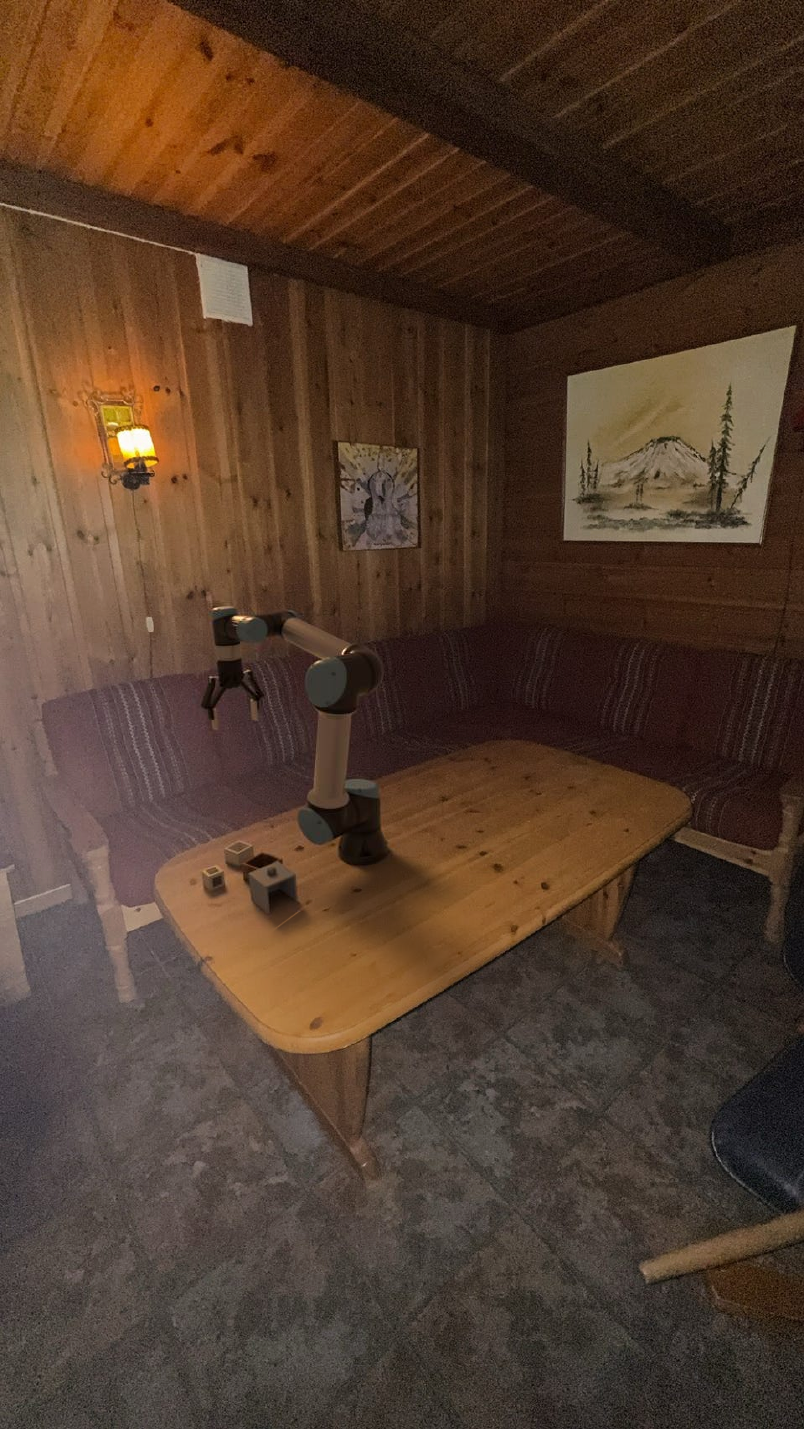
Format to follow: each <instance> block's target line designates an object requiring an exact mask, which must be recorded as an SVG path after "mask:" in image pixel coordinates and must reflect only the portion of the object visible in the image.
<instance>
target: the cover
mask: <svg viewBox="0 0 804 1429" xmlns="http://www.w3.org/2000/svg"><path fill="white" fill-rule="evenodd" d="M248 875H249V881H248V882H249V891H250V892H249V894H250V900H251V901H252V902H253V903H254V904H256V905H257V907H259V908H260V909H261V910H263V911H264V913H266V914H268V915H269V914H271V912H270V903H269V902H270V901H269V894H270V893H273V892H275V891H277V890H279V889H280V890H281V891H282V892H283V893H285V894H286V895H287V896H289V897H290V898H292V900H294V901H295V902H297V901H299V898H298V885H297V874H296V873H295V872H294V871H292V870H291V869H289V868H288V867H287V866H286V865H284V863H283V864H281V863H280V862H275V863H273V864H270V865H268V866H265V867H263V868H260V869H258V870H255V871H253V872H250V873H248Z"/></svg>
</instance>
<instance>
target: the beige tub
mask: <svg viewBox="0 0 804 1429" xmlns="http://www.w3.org/2000/svg"><path fill="white" fill-rule="evenodd" d="M254 850H255V849H254V844H252V843H248V842H245V841H243V840H237V841H235V842H233V843H231V844H230V845H228V846H226V847H224V848H223V851H224V861H225V863H227V864H230V865H232V866H234V867H237V868H242V863H244V862H245V861H247V860H249V859H251V858H252V857H254V856H255V851H254Z"/></svg>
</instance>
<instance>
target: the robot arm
mask: <svg viewBox="0 0 804 1429" xmlns="http://www.w3.org/2000/svg"><path fill="white" fill-rule="evenodd" d="M211 624H212V632H213V640H214V647H215V648H214V649H215V650H214V651H215V657H216V658H217V660H216V667H217V676H208V677H207V678H208V679H207V686H206V689H205V693H204V696H203V698H202V700H201V705H200V708H202V709H204V710H207V714H208V715H207V716H208V720H210V721H211V726H212V729H213V730H214V731H219V729H220V728H219V721H218V711H217V708H215V707H216V706H217V704H218V703H219V701H220V700H221V698H222V696H223V694H224V693H225V692H227V690H231V689H233V688H234V689H236V688H239V687H240V688H241V689H242V690H243V691H244V692H245V693H247V695H248V696H249V697H250V698H251V699H249V702H250V712H251V713H250V715H251V720H252V721H254V722H258V721H259V715H258V714H259V712H258V710H260V701H261V698H264V696H265V693H264V692H263V690H262V689H261V687H260V685H259V683H258V682H257V681H256V679H255V677H254V673H253V671H252V670H249V669H246V670H245V671H243V670H244V668H243V658H242V655H243V654H242V648H241V647H242V646H241V642H242V643H247V644H260V643H261V642H263V641H264V640H268V639H272V638H281V639H282V640H284V641H286V642H288V643H290V644H292V645H294V646H296V647H298V648H300V649H302V650H303V651H305V652H307V653H309V654H311V655H313V656H315V657H316V658H319V659H320V660H317V661H315V662H314V663H312V664H311V666H309V668H308V670H307V672H306V674H305V679H304V689H305V693H307V696H306V697H307V698H308V700H309V701H310V702H311V703H312V706H313V708H314V709H315V711H317V712H318V714H317V717H318V719H317V729H316V730H317V732H316V749H315V759H314V760H315V762H314V774H313V776H314V778H313V788H311V789H310V790H309V791H308V793H307V796H306V797H307V799H306V806H303V807H301V808H300V809H299V810H298V812H297V817H296V818H297V824H298V827H299V829H300V831H301V832H302V834H303V836H304V837H305V838H306V839H307V840H308V841H309V842H310V843H312V844H314V845H317V846H323V845H325V844H328V843H331V842H333V840H336V839H338V838H340V839H339V842H338V846H337V855H338V858H339V860H341V861H342V862H344V863H346V864H350V865H355V866H363V865H364V866H366V865H372V864H375V863H377V862H381V861H382V860H384V859H385V858H386V856H387V854H388V852H389V851H388V850H389V849H388V843H387V842H388V841H387V840H386V839H385V835H384V833H383V830H382V822H381V821H382V820H381V818H382V816H381V814H382V812H381V794H380V792H381V791H380V787H379V785H378V784H377V783H376V782H375V781H372V780H368V779H363V778H362V779H361V778H353V779H352V778H351V779H347V778H346V776H347V768H348V767H347V766H348V756H349V745H350V735H351V723H352V715H354V714H355V713H356V712H357V711H358V708H359V699H360V698H359V697H363V696H365V695H368V694H370V693H372V692H374V691H375V690H376V689H378V688H379V687H380V685H381V684H382V681H383V679H384V674H385V673H384V671H385V670H384V665H383V661H382V659H381V658H380V657H379V655H378V654H377V653H376V652H375V651H373V650H372V649H370V648H368V647H367V646H364V645H363V644H360V643H357V642H356V643H352V644H351V643H350V642H347V641H345V640H343V639H341V638H339V637H337V636H335V635H333V634H331V633H329V632H327V631H324V630H322V629H320V628H318V627H316V626H314V625H312V624H309V623H308V622H306V621H304V620H302V619H301V617H300V614H298V612H297V611H295V610H292V609H290V610H289V609H288V610H287V609H286V610H285V609H283V610H279V611H272V612H271V611H270V612H266V613H258V614H250V615H239V613H238V609H237V608H236V607H235V606H231V605H230V606H229V605H228V606H217V607H214V608H212V609H211ZM244 678H246V679H247V681H248V683H249V684H250V686H251V688H252V689H253V690H252V689H251V688H250V687H249V686H248V685H247V684H246V683H245V682H244V681H243V680H244ZM218 682H219V684H218V685H217V689H216V691H215V688H216V684H217V683H218ZM214 691H215V692H214Z"/></svg>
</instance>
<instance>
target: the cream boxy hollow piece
mask: <svg viewBox="0 0 804 1429" xmlns="http://www.w3.org/2000/svg"><path fill="white" fill-rule="evenodd" d="M200 872H201V878H202V879H201V880H202V885H203V886H204V887H205V888H207V890H209V892H211V891H213V890H216V889H219V888H221V887H224V886H225V885H226V880H225V873H224V870H223V869H222V868H221V867H220V866H218V865H217V864H215V865H213V866H211V867H210V866H209V867H208V868H205V869H202V870H201V871H200Z"/></svg>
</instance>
